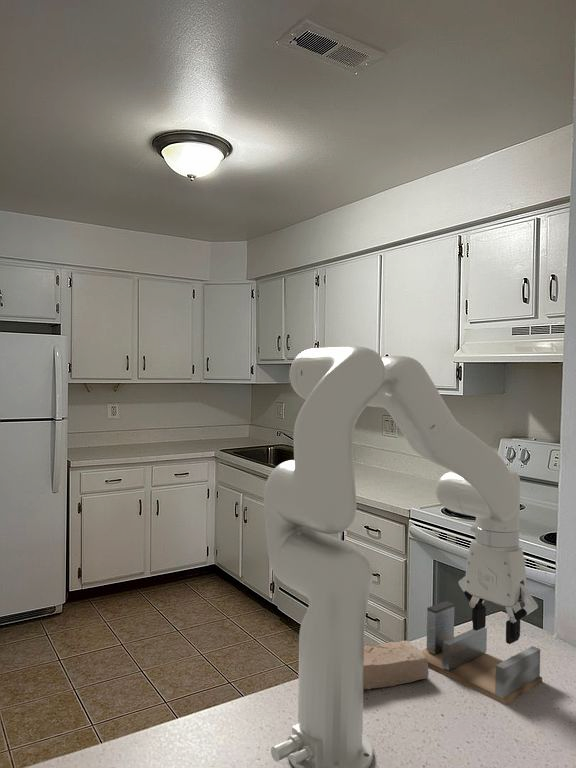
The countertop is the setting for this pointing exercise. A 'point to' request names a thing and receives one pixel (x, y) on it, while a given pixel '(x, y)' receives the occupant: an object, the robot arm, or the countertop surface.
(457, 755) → the countertop surface
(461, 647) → the free jaw
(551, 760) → the countertop surface
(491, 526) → the robot arm
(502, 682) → the vise base
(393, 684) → the brick
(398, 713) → the countertop surface
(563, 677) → the countertop surface
